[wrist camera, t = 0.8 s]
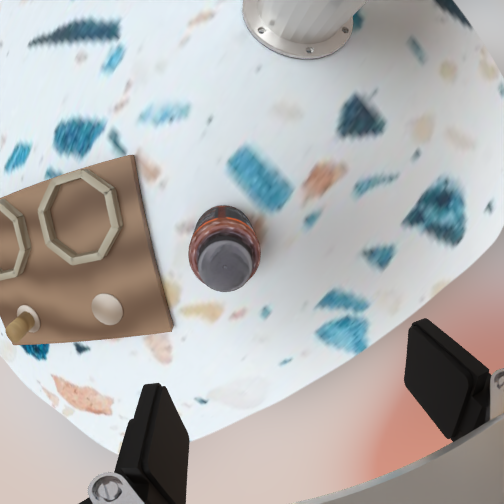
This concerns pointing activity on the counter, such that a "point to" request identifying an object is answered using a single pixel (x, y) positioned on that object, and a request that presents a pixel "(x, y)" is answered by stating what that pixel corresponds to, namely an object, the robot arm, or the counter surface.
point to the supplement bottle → (224, 249)
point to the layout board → (79, 259)
